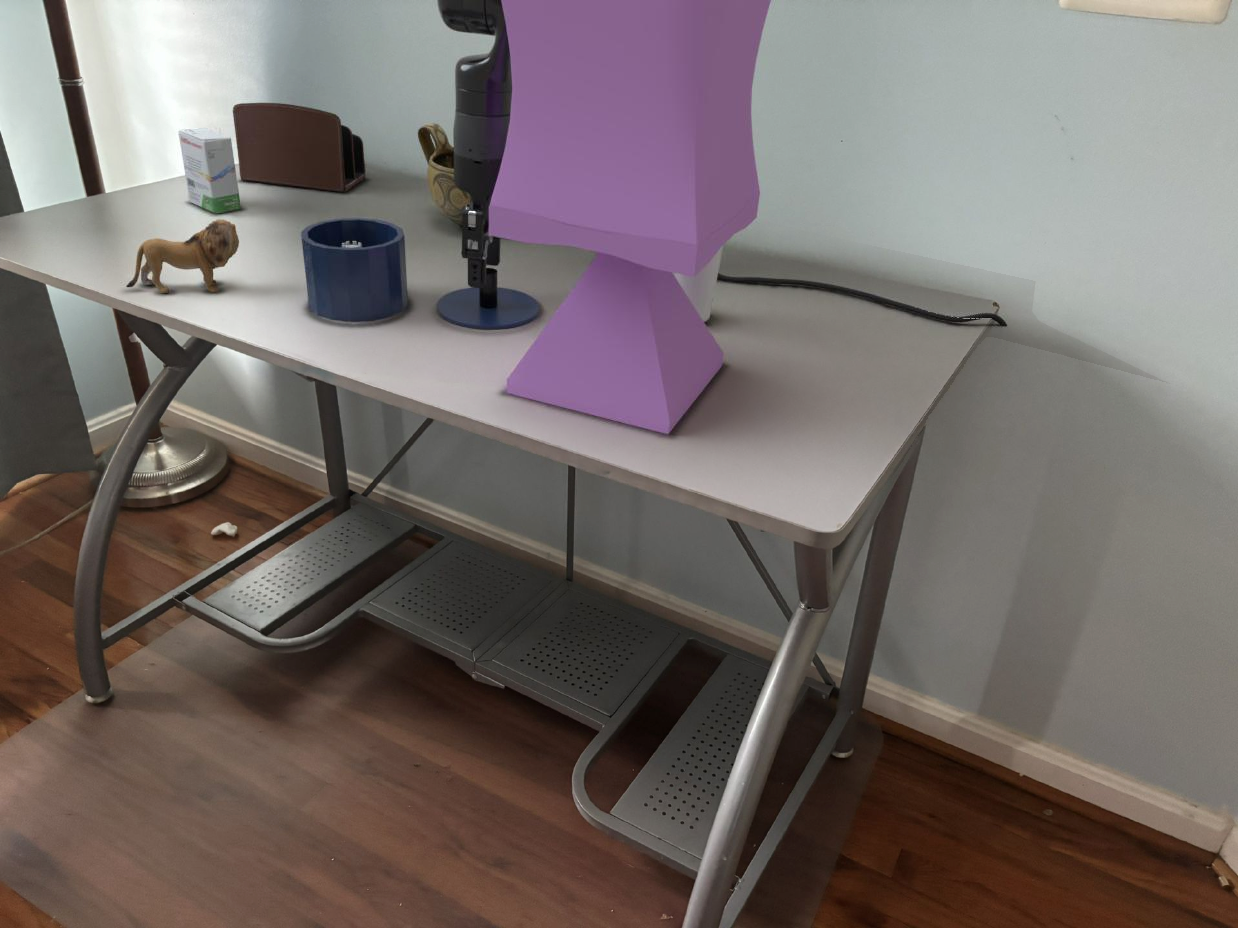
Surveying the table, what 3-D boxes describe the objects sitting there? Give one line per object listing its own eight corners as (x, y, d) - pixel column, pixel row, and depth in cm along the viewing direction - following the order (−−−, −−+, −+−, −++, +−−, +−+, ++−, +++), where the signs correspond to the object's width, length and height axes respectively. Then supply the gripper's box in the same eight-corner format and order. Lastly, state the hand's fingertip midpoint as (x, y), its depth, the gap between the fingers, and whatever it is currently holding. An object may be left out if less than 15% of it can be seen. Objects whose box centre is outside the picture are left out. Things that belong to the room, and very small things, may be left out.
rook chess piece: (363, 311, 125) (358, 252, 121) (332, 306, 126) (326, 247, 122) (379, 299, 129) (375, 241, 124) (349, 294, 130) (344, 236, 125)
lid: (546, 299, 134) (547, 258, 131) (530, 338, 122) (531, 294, 119) (450, 290, 135) (449, 249, 131) (425, 328, 123) (423, 284, 120)
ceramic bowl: (563, 223, 163) (566, 133, 156) (512, 251, 150) (513, 153, 142) (452, 200, 171) (449, 112, 163) (394, 224, 157) (388, 130, 150)
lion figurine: (244, 277, 134) (235, 213, 129) (246, 291, 129) (236, 225, 125) (128, 284, 129) (114, 218, 124) (125, 299, 125) (111, 231, 120)
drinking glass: (681, 330, 128) (693, 219, 120) (656, 311, 133) (666, 204, 125) (724, 323, 131) (738, 215, 123) (698, 305, 136) (710, 200, 128)
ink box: (242, 209, 159) (232, 136, 153) (214, 215, 156) (203, 140, 150) (216, 197, 164) (205, 126, 158) (188, 202, 160) (176, 129, 154)
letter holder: (345, 193, 170) (338, 110, 163) (239, 181, 172) (228, 99, 165) (366, 179, 179) (361, 100, 171) (266, 168, 181) (256, 89, 174)
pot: (418, 294, 133) (415, 223, 127) (391, 329, 122) (387, 253, 117) (328, 285, 133) (321, 214, 128) (294, 320, 122) (285, 244, 117)
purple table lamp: (573, 326, 126) (589, -62, 103) (736, 363, 120) (793, -43, 96) (489, 395, 108) (486, -57, 85) (675, 443, 102) (727, -33, 78)
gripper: (468, 133, 124) (469, 255, 132) (439, 159, 112) (442, 291, 120) (525, 139, 123) (522, 261, 132) (502, 166, 111) (501, 298, 120)
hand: (484, 275), depth 126 cm, fingers open, 8 cm apart
